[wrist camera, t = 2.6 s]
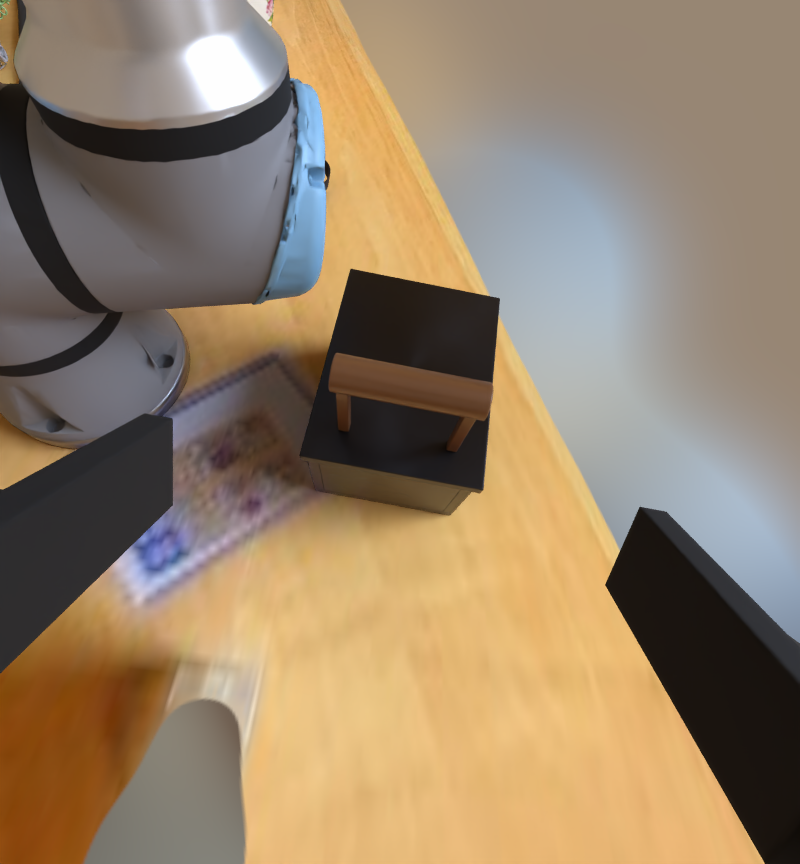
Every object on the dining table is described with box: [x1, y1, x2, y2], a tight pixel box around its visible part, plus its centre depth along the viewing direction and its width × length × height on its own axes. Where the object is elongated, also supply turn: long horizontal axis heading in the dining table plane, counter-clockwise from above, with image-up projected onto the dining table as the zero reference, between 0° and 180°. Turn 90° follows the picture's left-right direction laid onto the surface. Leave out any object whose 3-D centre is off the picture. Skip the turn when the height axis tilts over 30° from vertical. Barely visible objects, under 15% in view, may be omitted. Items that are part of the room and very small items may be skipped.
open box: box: [308, 461, 471, 515], centre depth 36 cm, size 15×12×10 cm
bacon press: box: [300, 269, 500, 493], centre depth 27 cm, size 15×12×8 cm
